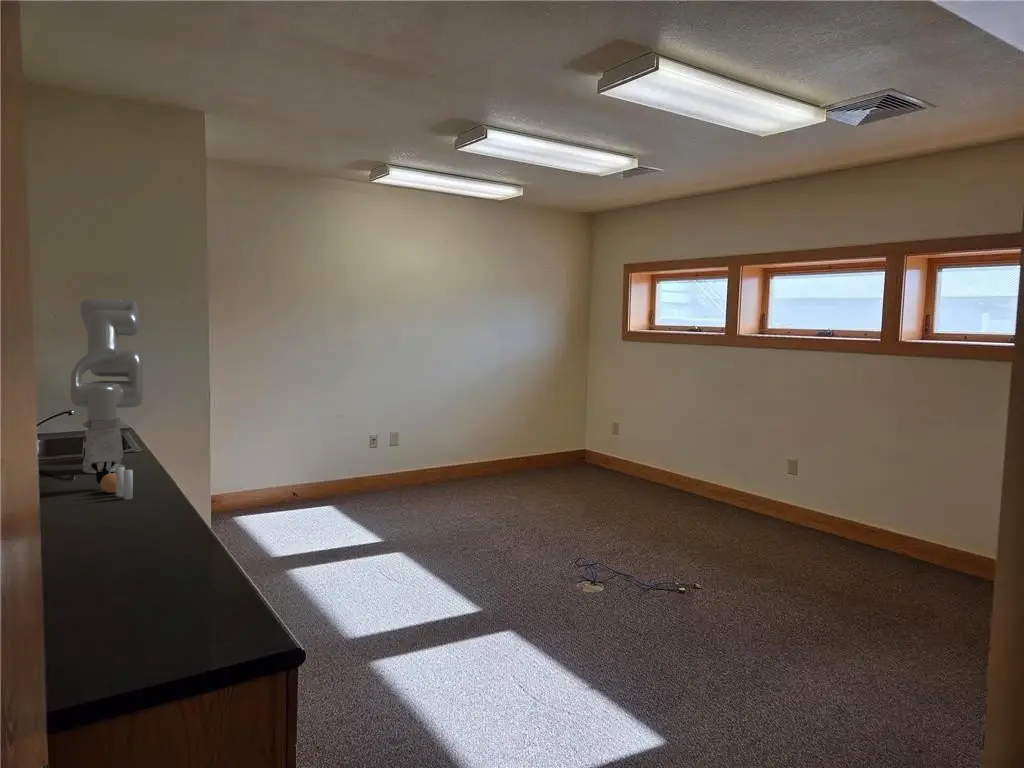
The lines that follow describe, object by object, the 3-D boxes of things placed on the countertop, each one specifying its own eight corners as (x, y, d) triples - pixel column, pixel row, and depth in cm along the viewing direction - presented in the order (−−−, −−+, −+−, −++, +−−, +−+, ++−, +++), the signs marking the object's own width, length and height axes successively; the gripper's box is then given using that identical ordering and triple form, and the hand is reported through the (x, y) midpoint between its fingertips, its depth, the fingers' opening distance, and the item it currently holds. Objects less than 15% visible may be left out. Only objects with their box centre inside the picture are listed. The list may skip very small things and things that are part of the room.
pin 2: (122, 498, 198) (122, 470, 198) (132, 497, 200) (131, 469, 199) (124, 499, 197) (124, 471, 196) (133, 498, 198) (133, 470, 197)
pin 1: (115, 495, 201) (115, 467, 201) (124, 494, 203) (124, 466, 202) (116, 497, 199) (116, 469, 199) (125, 496, 201) (125, 468, 200)
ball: (106, 470, 201) (111, 488, 200) (124, 469, 207) (129, 487, 205) (93, 478, 203) (98, 496, 202) (112, 477, 208) (116, 495, 207)
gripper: (80, 428, 198) (80, 489, 199) (133, 424, 210) (133, 481, 211) (70, 425, 203) (70, 485, 204) (122, 422, 215) (122, 478, 216)
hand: (102, 483), depth 207 cm, fingers closed
